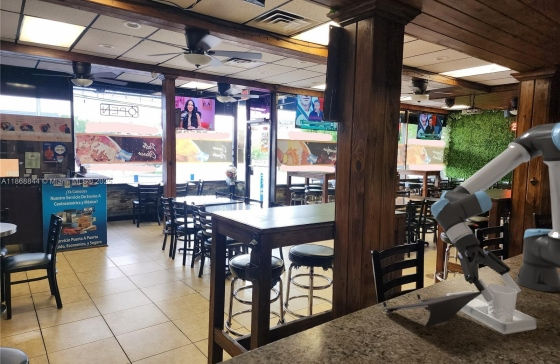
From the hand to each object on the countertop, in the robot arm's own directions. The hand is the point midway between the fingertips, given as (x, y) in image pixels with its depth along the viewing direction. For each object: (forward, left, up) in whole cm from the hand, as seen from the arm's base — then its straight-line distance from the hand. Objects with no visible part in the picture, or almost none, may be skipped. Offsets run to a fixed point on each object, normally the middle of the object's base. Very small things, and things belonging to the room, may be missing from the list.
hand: (504, 296), depth 114 cm
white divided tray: (0, -7, -8) cm, 11 cm away
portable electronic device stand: (+21, -10, -9) cm, 25 cm away
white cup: (+1, 0, -8) cm, 8 cm away
